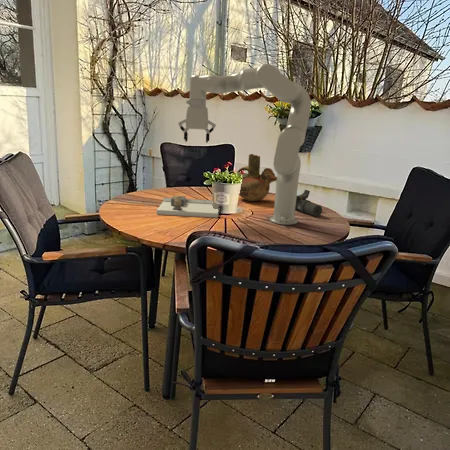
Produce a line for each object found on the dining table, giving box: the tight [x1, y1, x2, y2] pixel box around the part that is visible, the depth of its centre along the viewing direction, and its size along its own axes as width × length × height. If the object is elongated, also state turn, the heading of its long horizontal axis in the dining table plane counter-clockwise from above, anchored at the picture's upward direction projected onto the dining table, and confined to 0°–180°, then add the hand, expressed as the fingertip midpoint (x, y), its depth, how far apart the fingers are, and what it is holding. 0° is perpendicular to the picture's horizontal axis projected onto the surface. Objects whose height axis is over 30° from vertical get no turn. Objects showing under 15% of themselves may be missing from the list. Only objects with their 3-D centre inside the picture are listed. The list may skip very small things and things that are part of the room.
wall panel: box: [156, 197, 220, 218], centre depth 203 cm, size 24×28×4 cm
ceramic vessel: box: [237, 153, 277, 202], centre depth 227 cm, size 17×26×25 cm, turn 61°
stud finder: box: [170, 195, 187, 206], centre depth 205 cm, size 8×6×3 cm
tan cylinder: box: [174, 195, 182, 210], centre depth 195 cm, size 3×3×8 cm
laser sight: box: [295, 189, 323, 218], centre depth 211 cm, size 10×22×10 cm, turn 28°
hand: (196, 141), depth 197 cm, fingers open, 9 cm apart
